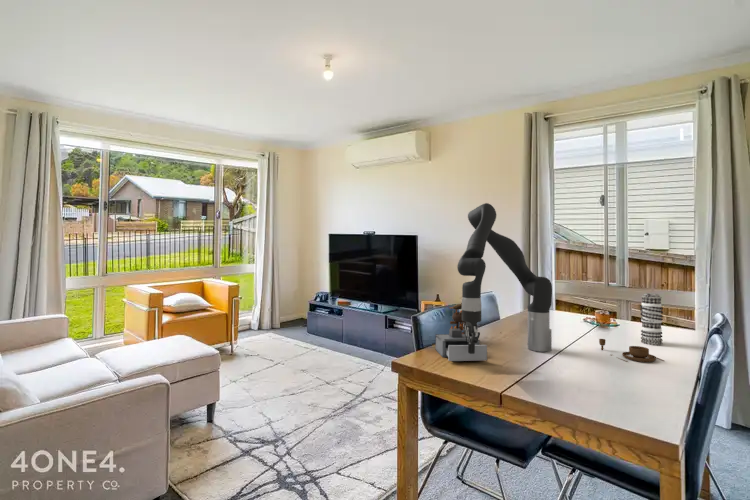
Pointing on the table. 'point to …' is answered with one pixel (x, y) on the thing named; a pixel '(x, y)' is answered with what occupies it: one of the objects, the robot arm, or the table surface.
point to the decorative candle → (651, 319)
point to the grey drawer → (466, 353)
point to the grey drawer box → (450, 340)
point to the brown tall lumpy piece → (457, 317)
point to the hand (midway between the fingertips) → (471, 353)
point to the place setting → (635, 353)
